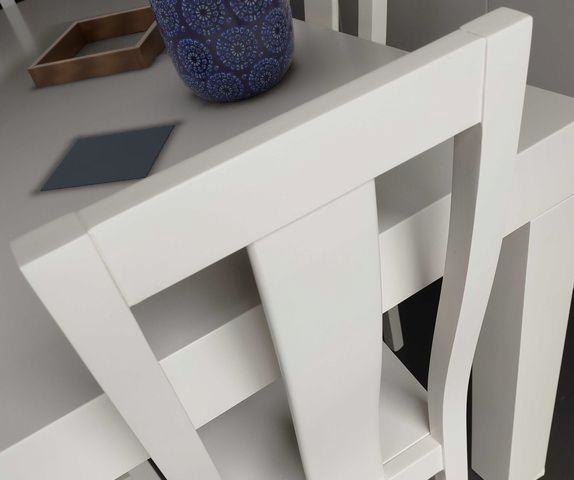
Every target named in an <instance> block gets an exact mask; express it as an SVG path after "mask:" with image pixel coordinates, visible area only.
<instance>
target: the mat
mask: <svg viewBox="0 0 574 480" xmlns="http://www.w3.org/2000/svg"><path fill="white" fill-rule="evenodd" d="M174 128H175V124H170V125H163V126H156V127H149V128H142V129H136V130H130V131H123V132H117V133H110V134H103V135H97V136H96V135H95V136H90V137H84V138H78V139H77V140H76V141H75V143H74V144H73V145H72V147H71V148H70V149H69V151H68V152H67V154H66V155H65V156H64V157H63V159H62V160H61V162H60V163H59V164H58V165H57V167H56V168H55V170H54V171H53V173H52V174H51V175H50V176H49V178H48V179H47V180H46V182H45V183H44V184H43V185H42V187H41V189H40V190H39V191H40V192H46V191H54V190H60V189H61V190H63V189H71V188H79V187H86V186H94V185H100V184H101V185H102V184H109V183H116V182H117V183H118V182H125V181H132V180H141V179H146V178H147V176H148V175H149V173H150V171H151V169H152V167H153V166H154V164H155V162H156V160H157V158H158V156H159V155H160V154H161V152H162V150H163V148H164V145H165V144H166V142H167V140H168V138H169V136H170V135H171V133H172V131H173V130H174Z"/></svg>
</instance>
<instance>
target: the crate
mask: <svg viewBox="0 0 574 480" xmlns="http://www.w3.org/2000/svg"><path fill="white" fill-rule="evenodd" d="M142 32H145V33H144V34H143V35H142V36H141V38H140V40H138V42H137V43H136V45H134V46H129V47H124V48H123V47H122V48H119V49H113V50H108V51H102V52H99V53H92V54H88V55H83V56H78V57H75V55H76V54H77V53H78V52H79V51H80V50H81V49H82V48H83V47H84V46H85V45H86V44H87V43H91V42H96V41H101V40H106V39H107V40H108V39H110V38H116V37H121V36H126V35H131V34H135V33H142ZM164 48H166V47H165V44H164V41H163V39H162V36H161V34H160V31H159V28H158V26H157V23H156V20H155V17H154V14H153V12H152V9H151V6H150V5H147V6H142V7H138V8H132V9H127V10H123V11H117V12H114V13H109V14H104V15H100V16H94V17H90V18H86V19H81V20H76V21H74V22H73V23H72V24H70V26H69V27H68V28H67V29H65V31H64V32H63V33H62V34H61V35H60V36H59V37H58V38H57V39H55V41H54V42H53V43H52V44H51V45H50V46H49V47H48V48H47V49H46V50H45V51H44V52H43V53H42V54H41V55H40V56H39V57H38V58H37V59H36V60H35V61H34V62H33V63H32V64H31V65H30V66H28V68H27V69H26V71H27V72H28V75H29V76H30V78H31V80H32V82H33V84H34V86H35V87H36V88H37V89H38V88H43V87H49V86H55V85H61V84H66V83H72V82H77V81H83V80H87V79H93V78H99V77H105V76H110V75H115V74H121V73H126V72H131V71H137V70H142V69H147V68H148V67H149V65H150V64H151V63H152V61H153V60H154V59H155V57H158V56H159V55H160V54H161V53H162V51H163V50H164Z"/></svg>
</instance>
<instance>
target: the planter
mask: <svg viewBox="0 0 574 480" xmlns="http://www.w3.org/2000/svg"><path fill="white" fill-rule="evenodd" d="M148 3H149V6H151V9H152V12H153V14H154V17H155V20H156V23H157V26H158V28H159V31H160V34H161V36H162V39H163V41H164V44H165V47H164V48H165V50H166V53H167V54H168V56H169V59H170V61H171V64H172V65H173V68H174V70H175V71H176V74H177V76H178V77H179V80H180V81H181V82H182V83H183V85H184V86H185V87H186V88H187V89H188V90H189V91H190V92H192V93H193V94H195V95H196V96H198V97H200V98H201V99H202V100H203V99H204V100H206V101H209V102H213V103H231V102H238V101H242V100H245V99H250V98H252V97H254V96H255V97H256V96H257V95H260V94H262V93H264V92H266V91H268V90H270V89H272V88H273V87H274V86H275V85H277V84H278V83H279V82H280V81H281V80H282V79H283V78H284V76H285V75H286V74H287V72H288V70H289V68H290V65H291V63H292V60H293V57H294V52H295V44H296V43H295V40H296V39H295V31H294V29H295V28H294V22H293V15H292V8H291V3H290V0H148Z"/></svg>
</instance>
